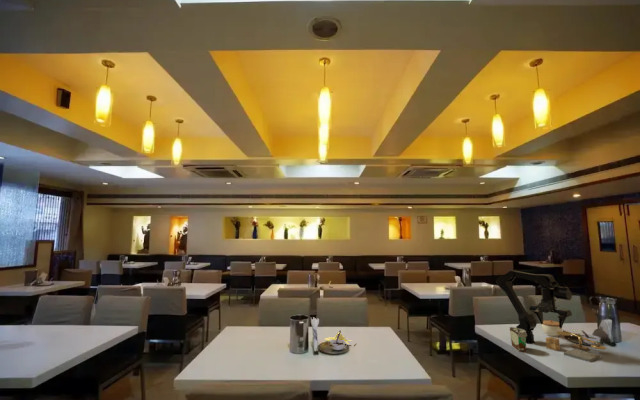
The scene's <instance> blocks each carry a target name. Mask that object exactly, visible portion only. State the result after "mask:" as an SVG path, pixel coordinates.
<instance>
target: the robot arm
mask: <svg viewBox="0 0 640 400" xmlns="http://www.w3.org/2000/svg"><path fill="white" fill-rule="evenodd" d="M516 278H517V279H521V280H527V281H532V282H535V283H537V284H539V285H538V286H537V287H536V288H537V289H540V290H541V297H542V298H540V299H541V300H540V303H538V304H530V305H529V306H528V307H529V308H528V309H529V310H530V311H531V312H532V313H531V314H530V313H528V312H527V310H526V309H525V307H524V306H523V304H522V302H521V301H520V298H518V295H517V294H516V292H515V290H514V287H513V283H512V282H513V281H514V280H515V279H516ZM495 282H496V284H497V286H498V287H499V288H500V289H501V290H502V291H503V292H504V293H505V294H506V296H507V298H508V299H509V302H510V303H511V305H512V306H513V308H514V310H515V312H516V313H517V315H518V316H517V317H518V323H519V324H517V326H516V327H515V328H519V329H523V330H525V331H526V333H527V336H526V344H532V343H536V341H535V336H534V333H533V331H534V330H535V328H537V325H538V323H537V319H535V317H534V315H533V313H534V314H535V315H536V317H537V318H538V321H539V323H540V325H541V324H543V321H544V314H548V313H554V314H558V315H557V318H558V322H559V327H560V328H562V329H563V327H564V323H565V321H566V320H567V318H569V317H572V315H573V314H572V313H573V312H572V311H571V310H570V309H566V308H561V309H558V308H557V306H556V302H557V300H564V301H571V300H572V296H573V294H572V292H571V290H570V288H569V287H568V286H560V284H559V283H558V282H557V281H556V280H555V277H554V276H553V275H552V274H540V273H538V274H537V273H536V274H535V273H530V272H524V271H519V270H517V269H513V270H509V271H508V272H507V273H504V274H503V275H502V276H498V277H497V278H496V281H495Z"/></svg>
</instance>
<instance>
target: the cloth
mask: <svg viewBox="0 0 640 400" xmlns="http://www.w3.org/2000/svg"><path fill="white" fill-rule="evenodd" d="M339 333H340V336H339V340H344V341H345V342H346V343H347V344H349V343H348V342H347V341H352V340H351V339H350V340H347V338H345V335H344V334H341V332H340V331H338V332H337V333H336V334H335V336H330V337H327V338H326V337H325V338H324V340H327V341H330V339H331V340H336V339H337V336H338V334H339Z"/></svg>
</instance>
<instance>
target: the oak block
mask: <svg viewBox="0 0 640 400" xmlns="http://www.w3.org/2000/svg"><path fill="white" fill-rule="evenodd" d="M545 346H546V348H545V349H548V350H551V351H560V350H561V347H560V346H561V345H560V339H559V338H558V337H552V336H547V337H545Z"/></svg>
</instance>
